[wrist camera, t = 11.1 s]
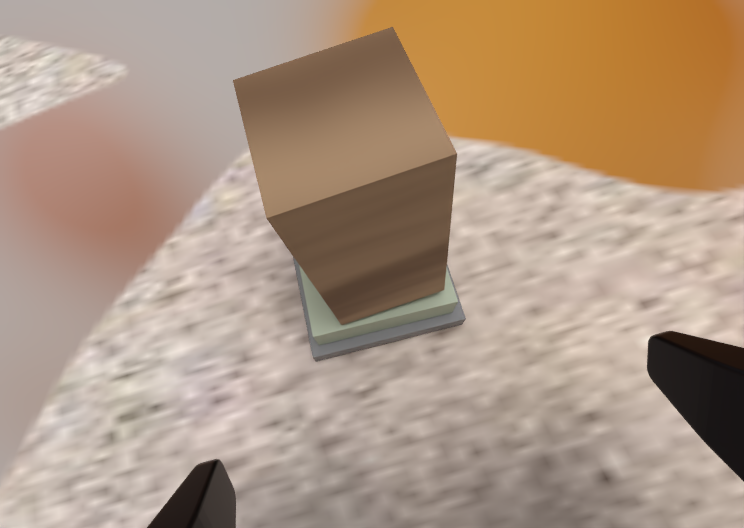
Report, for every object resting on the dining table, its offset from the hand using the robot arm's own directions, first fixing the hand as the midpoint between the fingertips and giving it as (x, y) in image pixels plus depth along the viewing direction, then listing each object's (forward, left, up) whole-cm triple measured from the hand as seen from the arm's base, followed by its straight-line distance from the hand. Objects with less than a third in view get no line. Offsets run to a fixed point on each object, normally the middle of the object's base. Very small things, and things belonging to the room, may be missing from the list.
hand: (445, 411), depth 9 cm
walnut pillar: (+3, +7, -10) cm, 13 cm away
